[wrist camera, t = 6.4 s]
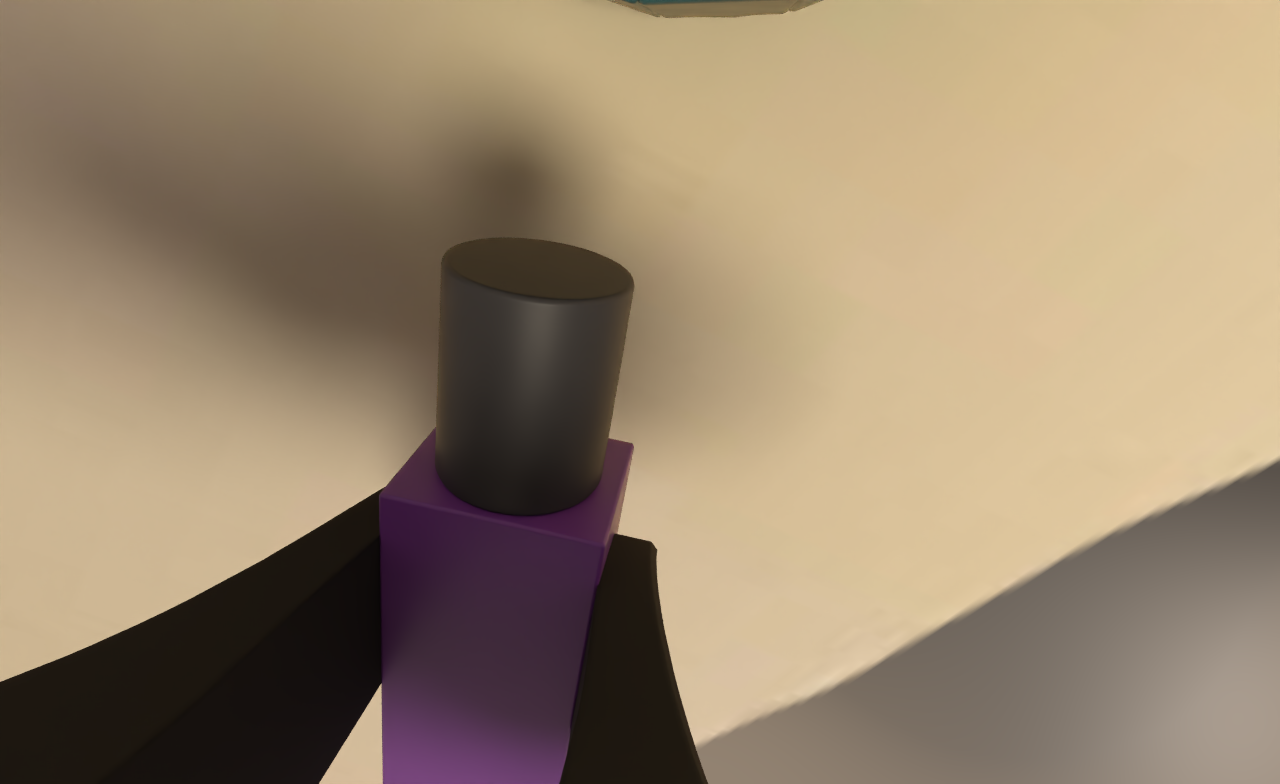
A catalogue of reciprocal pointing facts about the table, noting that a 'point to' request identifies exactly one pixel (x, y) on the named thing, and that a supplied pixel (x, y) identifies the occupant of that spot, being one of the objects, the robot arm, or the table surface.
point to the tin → (714, 7)
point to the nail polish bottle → (503, 517)
